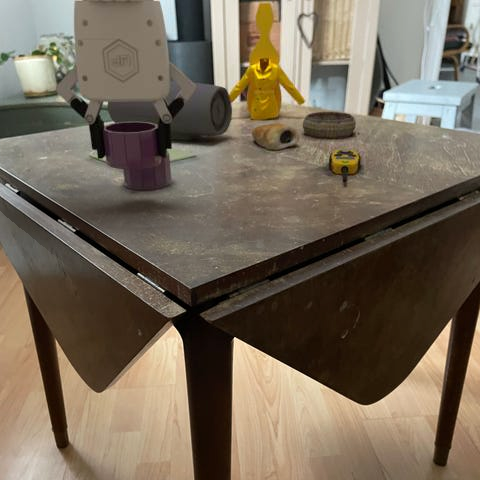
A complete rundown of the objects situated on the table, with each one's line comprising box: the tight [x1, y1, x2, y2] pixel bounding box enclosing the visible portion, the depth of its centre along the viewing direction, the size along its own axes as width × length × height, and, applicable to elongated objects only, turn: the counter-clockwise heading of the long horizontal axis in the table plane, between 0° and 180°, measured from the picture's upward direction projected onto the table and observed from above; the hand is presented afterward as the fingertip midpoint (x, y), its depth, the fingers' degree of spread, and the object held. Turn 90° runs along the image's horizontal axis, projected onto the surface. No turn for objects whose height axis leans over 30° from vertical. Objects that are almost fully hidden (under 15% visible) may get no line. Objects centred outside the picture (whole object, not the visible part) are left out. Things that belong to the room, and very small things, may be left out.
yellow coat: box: [228, 2, 306, 121], centre depth 114 cm, size 18×8×22 cm, turn 88°
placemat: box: [88, 147, 197, 164], centre depth 91 cm, size 13×13×1 cm
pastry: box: [251, 122, 300, 151], centre depth 97 cm, size 9×7×4 cm
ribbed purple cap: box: [122, 151, 172, 191], centre depth 77 cm, size 7×7×4 cm
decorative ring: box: [302, 111, 357, 139], centre depth 104 cm, size 10×3×10 cm
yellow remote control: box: [328, 149, 362, 183], centre depth 81 cm, size 5×2×15 cm
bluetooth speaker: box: [107, 79, 233, 141], centre depth 102 cm, size 23×9×10 cm, turn 62°
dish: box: [103, 122, 161, 170], centre depth 66 cm, size 7×7×4 cm
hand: (133, 154), depth 66 cm, fingers closed on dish, 6 cm apart
